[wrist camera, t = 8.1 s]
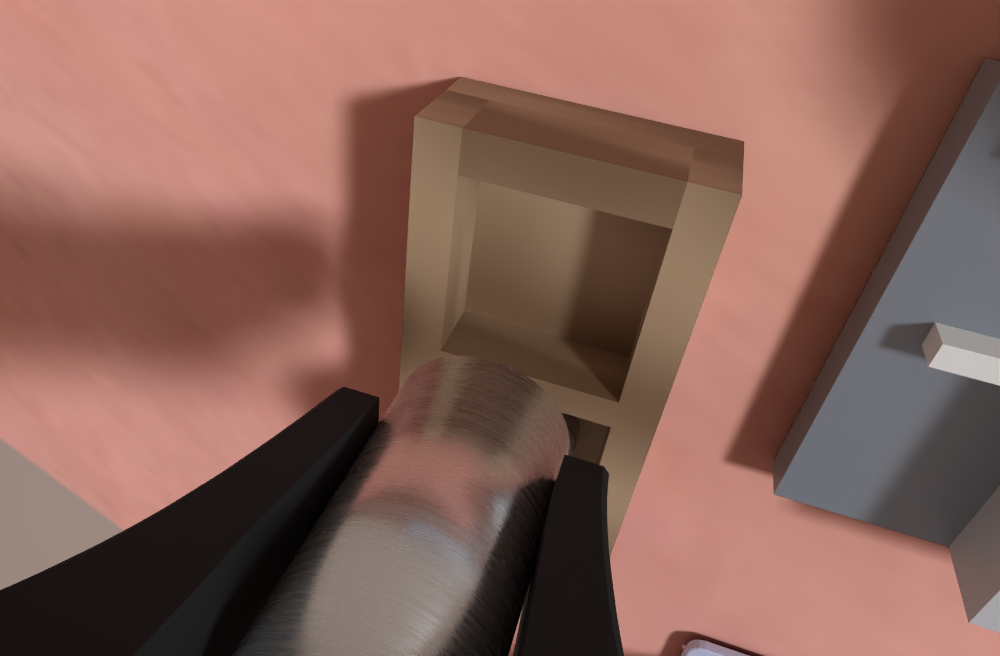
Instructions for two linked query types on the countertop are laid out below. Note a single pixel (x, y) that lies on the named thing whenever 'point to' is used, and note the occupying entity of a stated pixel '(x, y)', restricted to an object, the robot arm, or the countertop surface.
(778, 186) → the countertop surface
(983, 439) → the grey board with box
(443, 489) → the cylinder
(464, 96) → the wooden divided tray
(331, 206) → the countertop surface
